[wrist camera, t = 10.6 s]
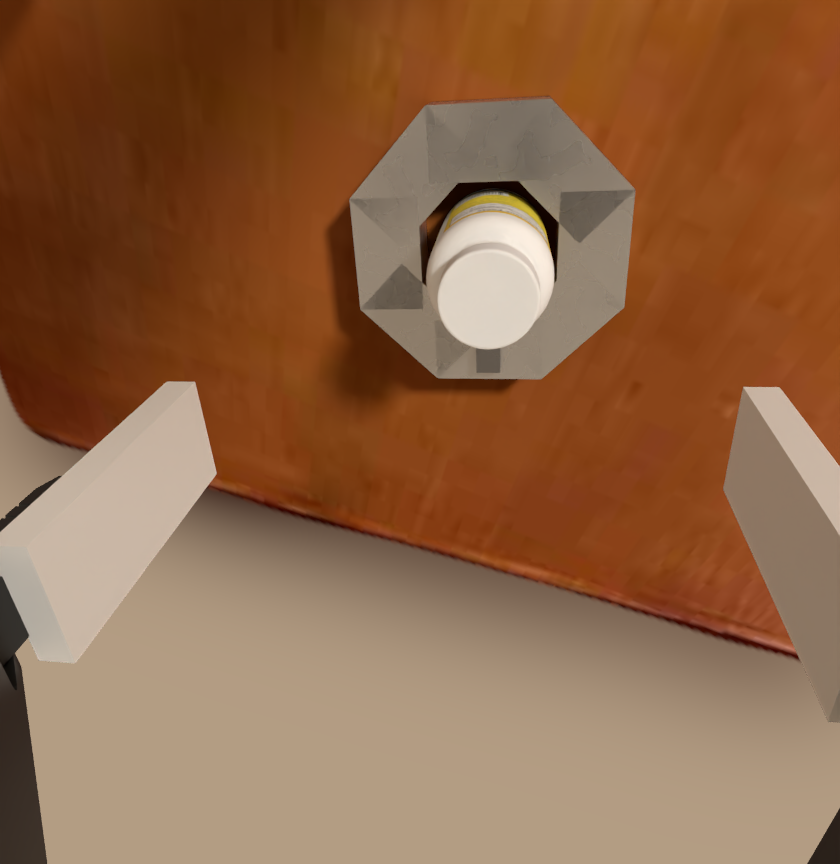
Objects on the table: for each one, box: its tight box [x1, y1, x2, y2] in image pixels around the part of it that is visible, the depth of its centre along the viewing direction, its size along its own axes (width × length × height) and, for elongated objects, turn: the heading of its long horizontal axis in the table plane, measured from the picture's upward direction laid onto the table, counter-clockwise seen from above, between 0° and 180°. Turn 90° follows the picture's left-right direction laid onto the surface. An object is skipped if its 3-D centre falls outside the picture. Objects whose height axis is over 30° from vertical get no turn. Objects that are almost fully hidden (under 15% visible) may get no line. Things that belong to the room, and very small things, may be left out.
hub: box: [349, 96, 635, 379], centre depth 33 cm, size 13×13×3 cm
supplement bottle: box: [426, 188, 554, 350], centre depth 30 cm, size 5×5×10 cm
